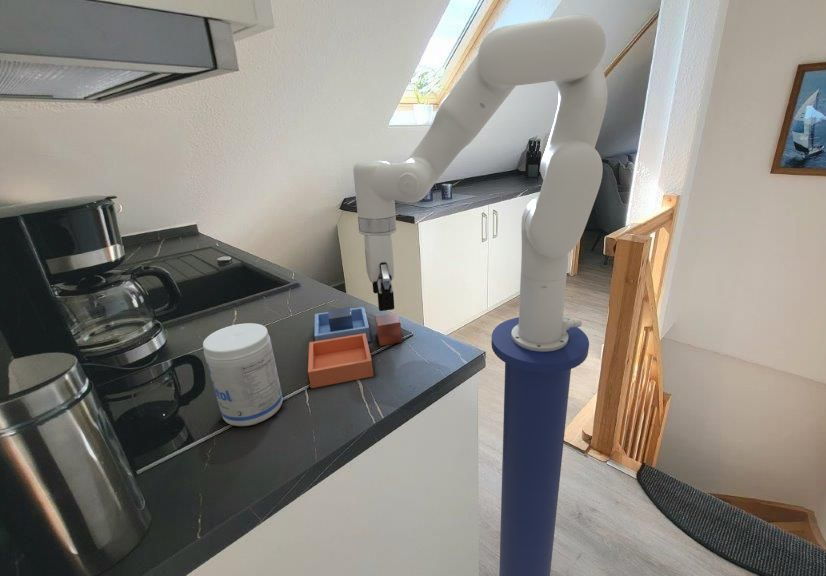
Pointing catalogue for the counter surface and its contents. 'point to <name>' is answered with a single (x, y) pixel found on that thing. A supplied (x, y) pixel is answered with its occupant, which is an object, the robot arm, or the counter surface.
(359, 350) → the terracotta bin
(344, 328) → the blue block
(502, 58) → the robot arm
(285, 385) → the counter surface
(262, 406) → the supplement tub
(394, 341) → the terracotta block
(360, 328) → the blue bin
